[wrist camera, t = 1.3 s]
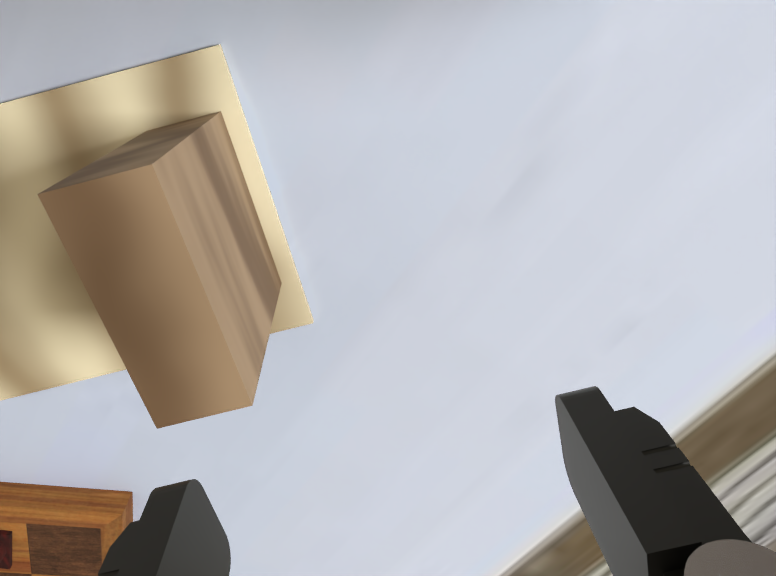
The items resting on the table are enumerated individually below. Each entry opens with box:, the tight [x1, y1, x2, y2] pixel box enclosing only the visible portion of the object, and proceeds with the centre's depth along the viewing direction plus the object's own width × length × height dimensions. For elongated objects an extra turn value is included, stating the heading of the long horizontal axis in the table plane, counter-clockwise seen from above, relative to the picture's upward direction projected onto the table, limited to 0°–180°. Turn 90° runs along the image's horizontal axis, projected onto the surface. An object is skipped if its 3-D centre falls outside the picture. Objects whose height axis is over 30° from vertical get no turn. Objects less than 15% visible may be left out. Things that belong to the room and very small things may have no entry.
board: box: [0, 44, 313, 400], centre depth 33 cm, size 20×16×1 cm
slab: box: [37, 111, 282, 428], centre depth 27 cm, size 4×10×12 cm, turn 13°
